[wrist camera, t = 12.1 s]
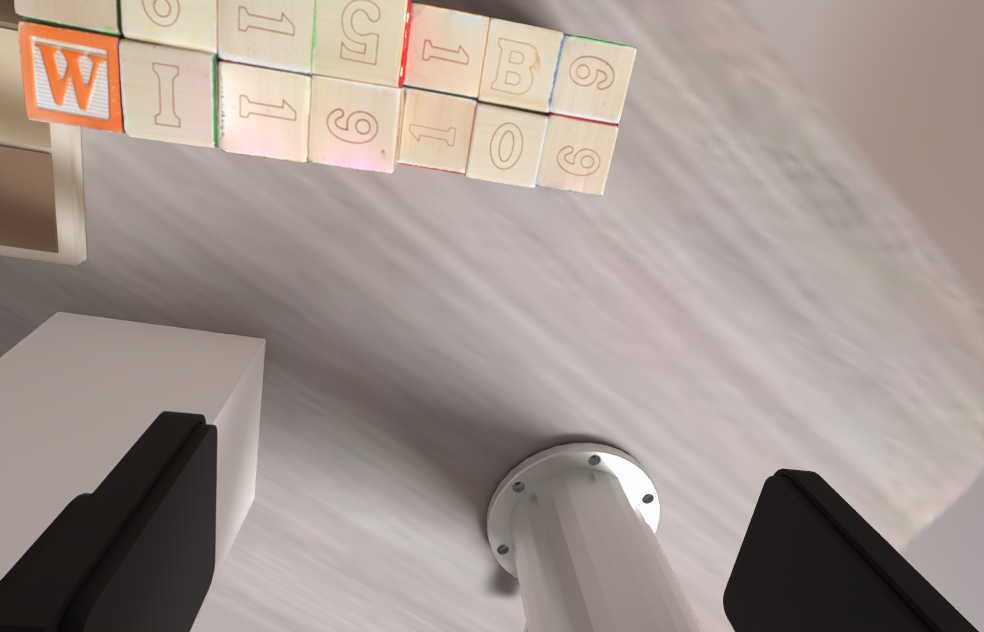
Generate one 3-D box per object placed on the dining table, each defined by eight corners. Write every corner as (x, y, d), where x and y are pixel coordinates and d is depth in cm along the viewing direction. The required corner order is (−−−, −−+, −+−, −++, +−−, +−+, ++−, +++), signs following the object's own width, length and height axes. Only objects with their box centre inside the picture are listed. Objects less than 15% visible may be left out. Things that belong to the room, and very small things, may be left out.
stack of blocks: (584, 53, 33) (670, 45, 21) (559, 169, 35) (625, 218, 24) (161, -34, 29) (-4, -100, 18) (164, 101, 31) (17, 119, 20)
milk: (254, 498, 41) (17, 1103, 17) (68, 482, 39) (-497, 1140, 15) (265, 339, 37) (-28, 844, 13) (57, 311, 35) (-752, 849, 11)
